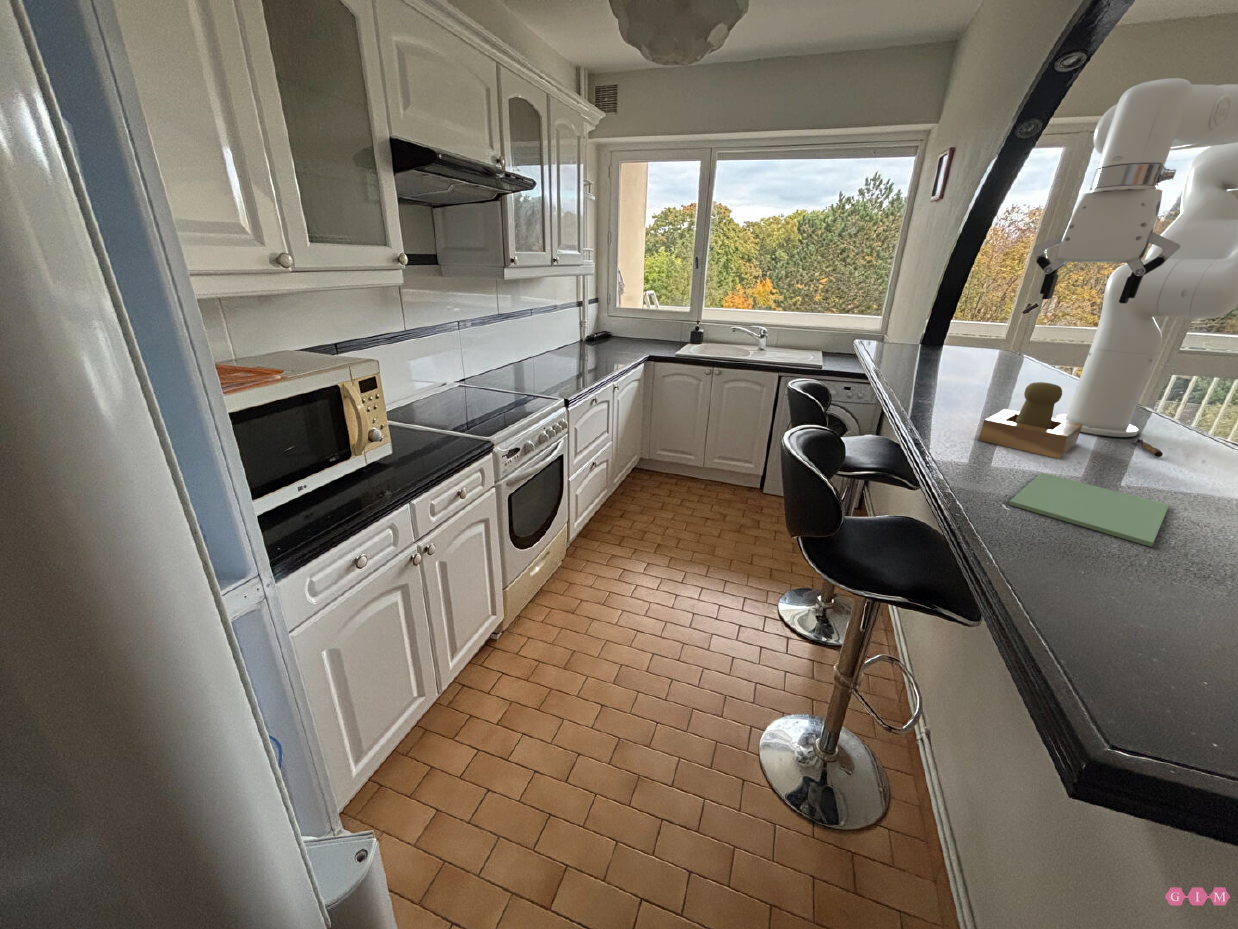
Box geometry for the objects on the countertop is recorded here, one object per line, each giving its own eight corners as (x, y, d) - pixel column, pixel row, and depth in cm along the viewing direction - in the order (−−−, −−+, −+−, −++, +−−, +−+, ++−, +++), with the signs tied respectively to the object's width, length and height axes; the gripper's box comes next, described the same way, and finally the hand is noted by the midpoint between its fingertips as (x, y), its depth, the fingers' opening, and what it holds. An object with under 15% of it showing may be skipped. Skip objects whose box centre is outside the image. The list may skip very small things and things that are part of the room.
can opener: (1161, 458, 86) (1164, 452, 85) (1143, 455, 87) (1146, 449, 86) (1146, 444, 93) (1149, 438, 92) (1129, 441, 94) (1132, 435, 94)
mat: (1040, 476, 78) (1041, 472, 78) (1167, 508, 68) (1169, 504, 68) (1008, 504, 68) (1009, 500, 68) (1151, 547, 59) (1153, 542, 58)
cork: (1054, 449, 90) (1076, 388, 86) (1016, 446, 91) (1036, 386, 87) (1035, 438, 95) (1055, 380, 91) (1000, 435, 96) (1018, 378, 92)
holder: (998, 428, 101) (1004, 408, 99) (1075, 444, 92) (1083, 423, 91) (978, 440, 94) (984, 419, 92) (1059, 458, 85) (1067, 436, 84)
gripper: (1209, 179, 72) (1159, 304, 79) (1057, 189, 84) (1025, 297, 91) (1206, 172, 68) (1154, 305, 74) (1046, 184, 80) (1013, 298, 86)
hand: (1083, 300), depth 82 cm, fingers open, 9 cm apart
